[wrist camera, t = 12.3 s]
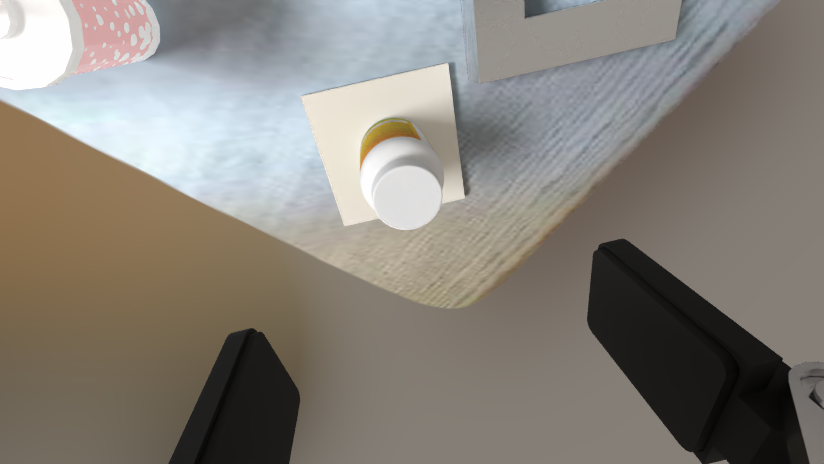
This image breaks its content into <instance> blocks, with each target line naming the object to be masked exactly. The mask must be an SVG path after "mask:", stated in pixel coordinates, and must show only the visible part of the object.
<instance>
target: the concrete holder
mask: <svg viewBox="0 0 824 464" xmlns="http://www.w3.org/2000/svg"><path fill="white" fill-rule="evenodd" d="M460 2H461V12H462V23H463V33H464V43H465V53H466V63H467V74H468V80H470V81H473V82H476V83H479V84H482V83H487V82H491V81H495V80H500V79H504V78H509V77H513V76H517V75H522V74H526V73H530V72H535V71H539V70H544V69H548V68H552V67H557V66H561V65H566V64H570V63H574V62H579V61H583V60H588V59H592V58H596V57H601V56H605V55H609V54H614V53H618V52H623V51H627V50H631V49H636V48H640V47H645V46H649V45H653V44H658V43H662V42H667V41H671V40H675V36H676V31H677V25H678V20H679V14H680V8H681V3H682V0H601V1H597V2H592V3H588V4H583V5H579V6H574V7H570V8H565V9H561V10H557V11H552V12H548V13H543V14H539V15H534V16H530V17H525V10H524V0H460Z"/></svg>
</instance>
